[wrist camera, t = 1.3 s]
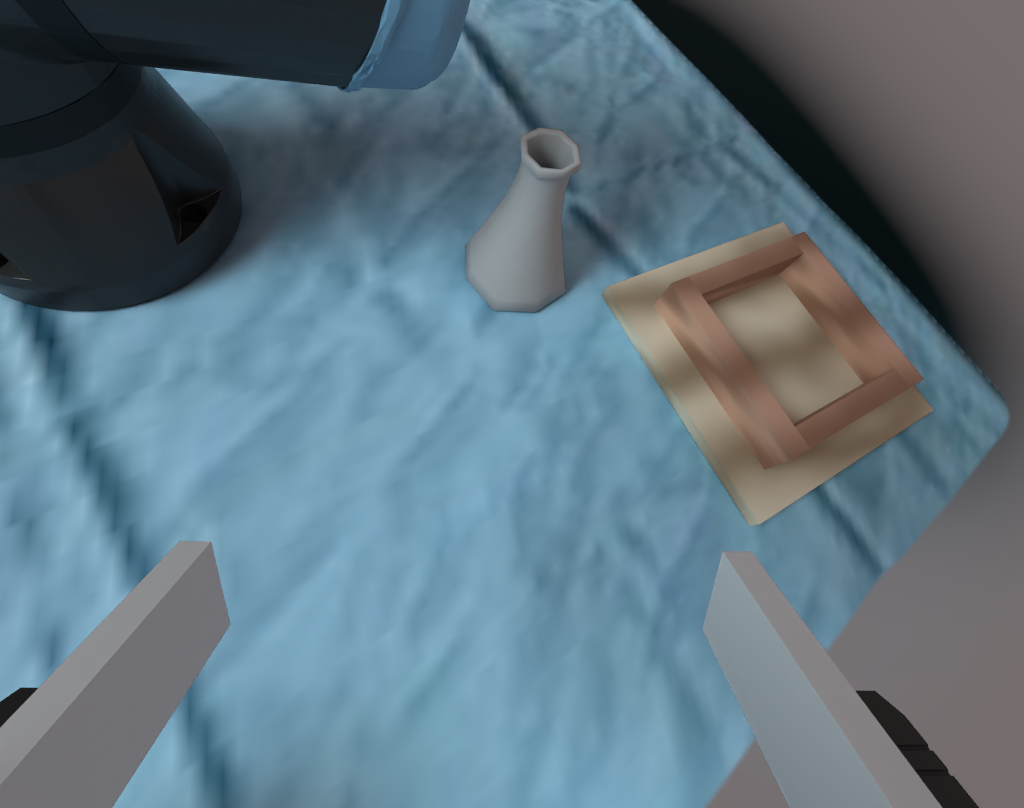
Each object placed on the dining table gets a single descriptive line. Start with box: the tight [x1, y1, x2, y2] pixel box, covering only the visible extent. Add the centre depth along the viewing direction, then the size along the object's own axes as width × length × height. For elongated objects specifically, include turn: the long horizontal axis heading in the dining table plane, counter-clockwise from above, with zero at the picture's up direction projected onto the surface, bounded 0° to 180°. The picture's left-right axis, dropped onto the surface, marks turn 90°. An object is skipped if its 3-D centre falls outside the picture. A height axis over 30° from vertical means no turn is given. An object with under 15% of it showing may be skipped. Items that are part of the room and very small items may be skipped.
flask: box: [465, 127, 581, 312], centre depth 29 cm, size 7×7×10 cm
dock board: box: [602, 222, 933, 526], centre depth 33 cm, size 18×18×4 cm
